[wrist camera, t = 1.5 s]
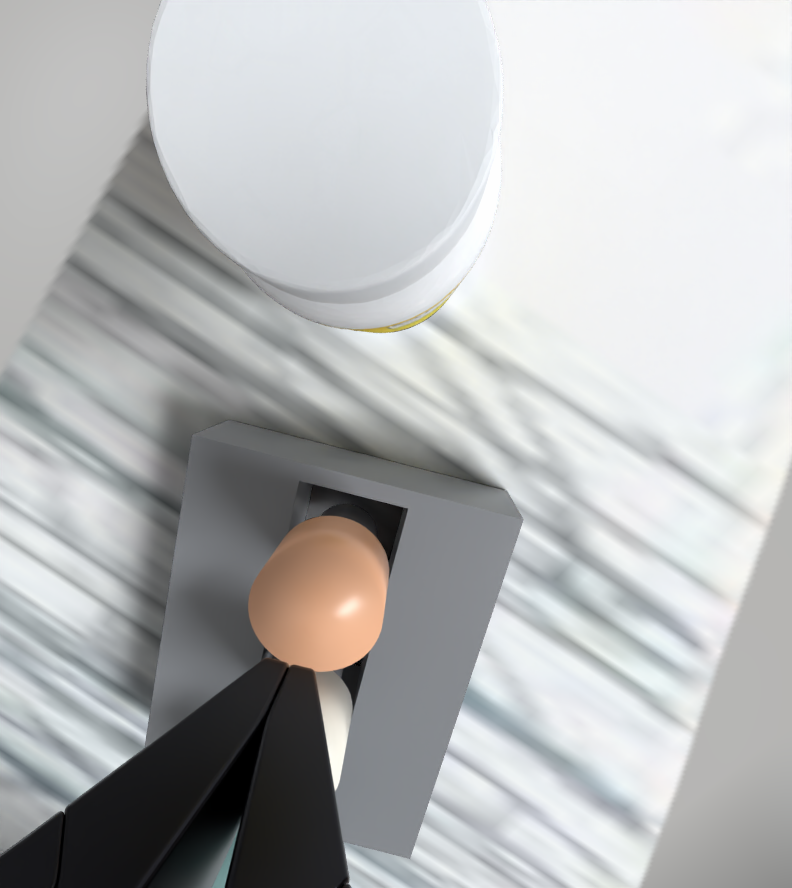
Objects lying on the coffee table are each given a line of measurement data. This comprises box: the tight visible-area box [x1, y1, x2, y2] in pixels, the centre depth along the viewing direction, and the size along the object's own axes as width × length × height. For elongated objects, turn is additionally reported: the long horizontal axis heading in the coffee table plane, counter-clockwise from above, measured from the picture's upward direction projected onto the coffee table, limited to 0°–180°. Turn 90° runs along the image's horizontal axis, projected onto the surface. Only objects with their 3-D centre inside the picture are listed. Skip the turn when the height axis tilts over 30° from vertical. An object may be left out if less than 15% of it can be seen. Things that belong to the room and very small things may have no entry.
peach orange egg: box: [248, 504, 389, 672], centre depth 11 cm, size 3×3×4 cm
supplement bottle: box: [146, 0, 503, 333], centre depth 9 cm, size 5×5×8 cm
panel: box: [145, 420, 523, 859], centre depth 15 cm, size 12×9×2 cm
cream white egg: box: [280, 660, 353, 791], centre depth 12 cm, size 3×3×4 cm
